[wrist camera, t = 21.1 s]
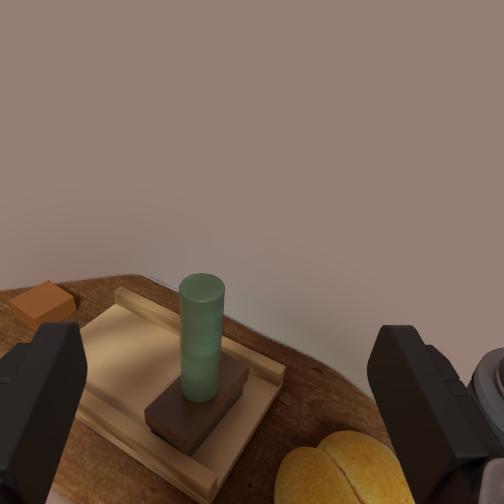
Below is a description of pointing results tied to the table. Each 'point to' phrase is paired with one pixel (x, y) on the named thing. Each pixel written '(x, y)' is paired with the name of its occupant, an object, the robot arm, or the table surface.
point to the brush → (198, 370)
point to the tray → (154, 383)
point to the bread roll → (342, 473)
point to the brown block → (43, 305)
